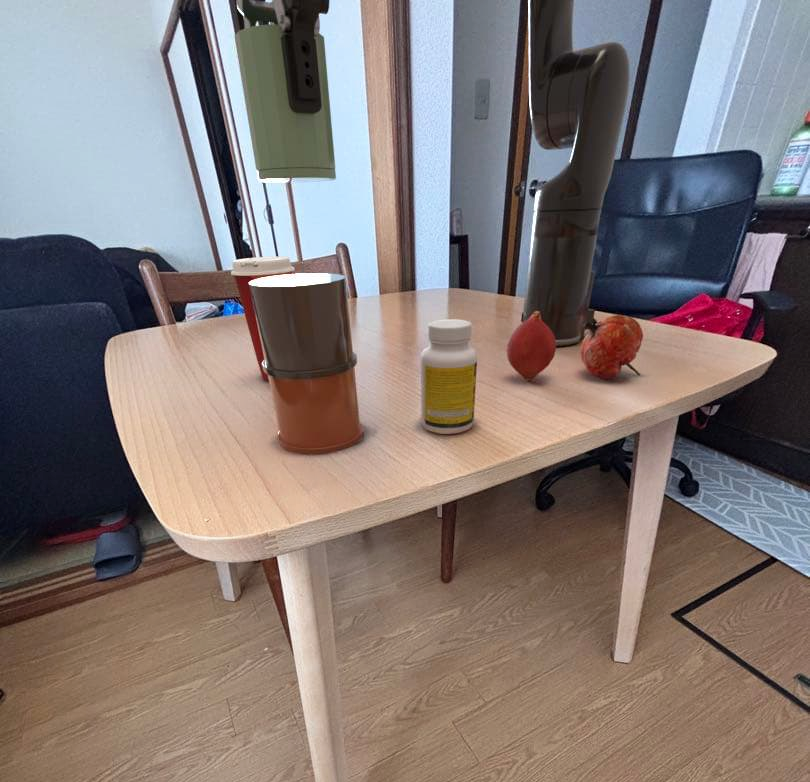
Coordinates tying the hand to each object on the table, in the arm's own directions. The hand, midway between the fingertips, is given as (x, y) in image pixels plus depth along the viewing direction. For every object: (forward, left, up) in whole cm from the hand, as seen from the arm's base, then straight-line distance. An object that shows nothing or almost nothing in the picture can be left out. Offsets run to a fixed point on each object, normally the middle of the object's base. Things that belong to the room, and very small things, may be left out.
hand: (290, 119), depth 36 cm
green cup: (0, 0, -4) cm, 4 cm away
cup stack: (+2, +3, -24) cm, 25 cm away
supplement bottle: (-10, +8, -25) cm, 28 cm away
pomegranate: (-36, +7, -25) cm, 44 cm away
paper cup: (-2, -20, -25) cm, 32 cm away
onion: (-27, +2, -25) cm, 36 cm away
